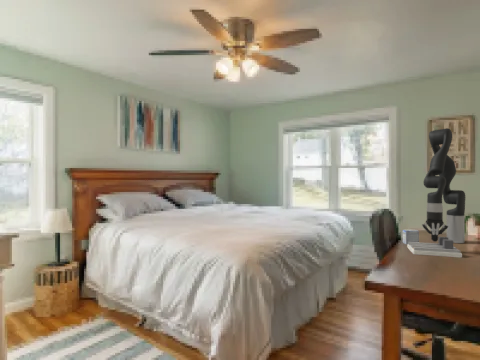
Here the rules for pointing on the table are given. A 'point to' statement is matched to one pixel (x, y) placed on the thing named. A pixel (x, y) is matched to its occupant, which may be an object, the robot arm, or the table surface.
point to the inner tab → (441, 240)
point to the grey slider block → (447, 244)
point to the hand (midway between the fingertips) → (434, 241)
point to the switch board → (432, 249)
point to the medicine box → (410, 236)
